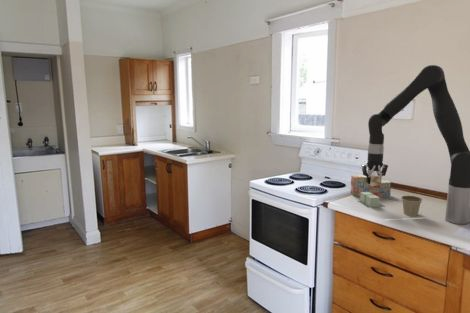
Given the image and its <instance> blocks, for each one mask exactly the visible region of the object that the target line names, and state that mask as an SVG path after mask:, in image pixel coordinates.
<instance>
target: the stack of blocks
mask: <svg viewBox="0 0 470 313" xmlns="http://www.w3.org/2000/svg"><path fill="white" fill-rule="evenodd" d="M391 185H392V181H389V180H388V179H381V185H380V186H370V185H368V184H367V182H366V176H364V175H363V174H351V179H350V194H351V196H353V197H360V192H370V193H372V194H373V195H376V196H378V197H379V198H381V197H382V198H385V197H386V198H390V197H391V193H392V192H391V189H392V186H391Z"/></svg>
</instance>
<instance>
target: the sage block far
mask: <svg viewBox="0 0 470 313" xmlns="http://www.w3.org/2000/svg"><path fill="white" fill-rule="evenodd" d="M366 195H373V194H372V193H370V192H360V196H359V197H360V198H359V201H361V202H363V203H366Z"/></svg>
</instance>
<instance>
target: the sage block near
mask: <svg viewBox="0 0 470 313" xmlns="http://www.w3.org/2000/svg"><path fill="white" fill-rule="evenodd" d="M380 198H381V197H379V196H376V195H366V205H368V206H369V207H371V208H380V207H379V203H381V202H380Z"/></svg>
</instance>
